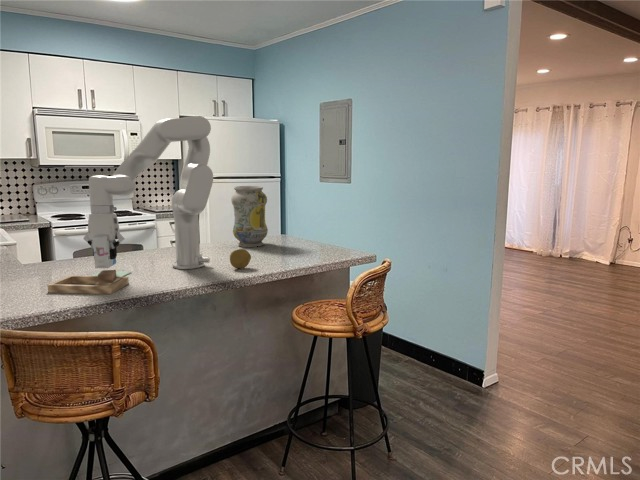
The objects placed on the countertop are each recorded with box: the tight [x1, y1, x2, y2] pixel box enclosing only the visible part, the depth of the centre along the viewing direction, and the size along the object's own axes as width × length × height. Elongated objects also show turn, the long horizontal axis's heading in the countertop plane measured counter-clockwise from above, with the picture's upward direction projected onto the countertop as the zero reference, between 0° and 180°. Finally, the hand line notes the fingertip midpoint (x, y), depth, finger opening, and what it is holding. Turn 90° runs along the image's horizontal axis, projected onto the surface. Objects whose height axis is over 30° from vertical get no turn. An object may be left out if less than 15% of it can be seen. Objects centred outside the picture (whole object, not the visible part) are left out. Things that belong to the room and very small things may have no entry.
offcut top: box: [98, 269, 117, 283], centre depth 157 cm, size 4×6×3 cm
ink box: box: [92, 236, 117, 269], centre depth 171 cm, size 9×5×12 cm, turn 5°
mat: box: [90, 270, 132, 277], centre depth 173 cm, size 12×14×1 cm
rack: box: [47, 274, 130, 295], centre depth 158 cm, size 21×13×2 cm, turn 86°
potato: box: [229, 248, 252, 269], centre depth 187 cm, size 7×8×8 cm
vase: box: [231, 185, 269, 248], centre depth 236 cm, size 18×18×30 cm
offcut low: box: [95, 278, 121, 286], centre depth 158 cm, size 5×7×3 cm
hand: (105, 258), depth 172 cm, fingers closed on ink box, 5 cm apart
